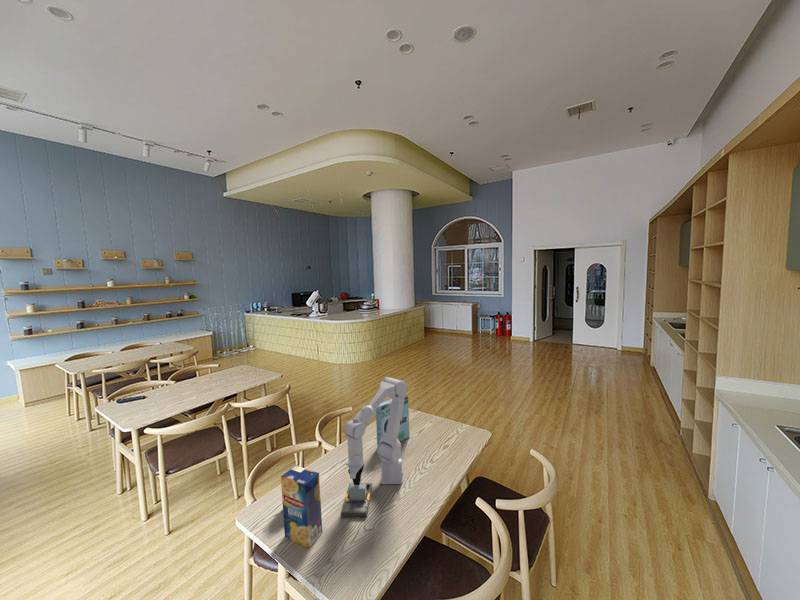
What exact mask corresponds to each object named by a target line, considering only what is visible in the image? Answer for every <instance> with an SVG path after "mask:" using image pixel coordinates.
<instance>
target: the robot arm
mask: <svg viewBox="0 0 800 600" xmlns="http://www.w3.org/2000/svg"><path fill="white" fill-rule="evenodd" d="M407 387H408V385H407V384H406V381H404V380H402V379H401V380H400V379H396V378H393V377H390V376H385V377H384V378H383V379H382V381H381V382H380V384H379V389H378V391H377V392H376V394H375V395H374V396H373V397H372V399H371V401H369V404H368V405H367V404H365V405H363V406H362V407H361V408H360V410H359V411H358V413H357V414H356V415H354V417H353V419H350V420H348V421H347V422H346V423H345V426H344V429H343V433H344V434H345V436H346V440H347V453H348V454H347V456H348V460H346V461H345V466H348V470H347V473H348V474H349V479H351V480H352V483H354V486H355V485H360V483H361V479H362V478H361V477H362V473H363V472H364V467H365V464H364V463H365V461H364V451H363V447H364V446H363V436H364V435H365V433H366V429H367V427H368V424H369V423H370V422H371V421H372V420H373V418H374V417H375V416H376V408H377V407H378V406H379V405H380V404H381V403H383V402H385V401H386V398H390V399H392V404H391V409H390V414H389V419H388V424H387V429H386V434H385V436H384V437H382V438H381V439H380V442H379V445H378V447H376V453H377V455H378V456H379V459H380V466H381V467H380V468H381V469H380V473H381V474H380V478H379V479H380V480H379V484H380V485H402V484H403V477H404V471H403V459H402V458H401V455H402V450H401V448H402V443H401V442H400V441H399V440H398V438H397V436H398V431H399V426H400V421H401V415H402V410H403V405H404V400H405V396H406V393H407V390H408V389H407Z"/></svg>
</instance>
